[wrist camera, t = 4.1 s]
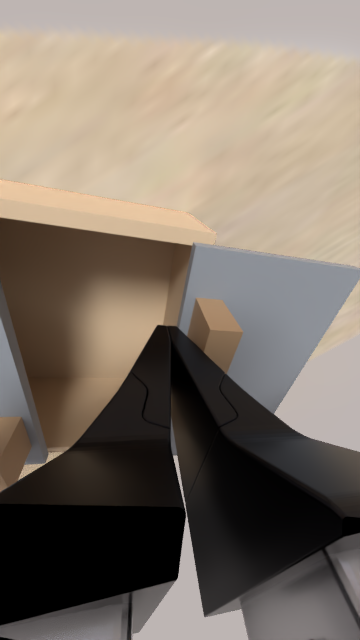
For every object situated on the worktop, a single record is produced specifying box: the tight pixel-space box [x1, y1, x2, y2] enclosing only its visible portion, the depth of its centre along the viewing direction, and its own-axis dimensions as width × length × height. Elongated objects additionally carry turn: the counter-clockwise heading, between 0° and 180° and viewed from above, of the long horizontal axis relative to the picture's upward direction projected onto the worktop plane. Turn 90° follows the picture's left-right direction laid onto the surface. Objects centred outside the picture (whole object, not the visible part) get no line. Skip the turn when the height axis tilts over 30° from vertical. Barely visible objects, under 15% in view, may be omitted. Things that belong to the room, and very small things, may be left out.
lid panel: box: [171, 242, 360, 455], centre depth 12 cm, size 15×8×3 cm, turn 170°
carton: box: [0, 179, 217, 452], centre depth 14 cm, size 16×16×7 cm
